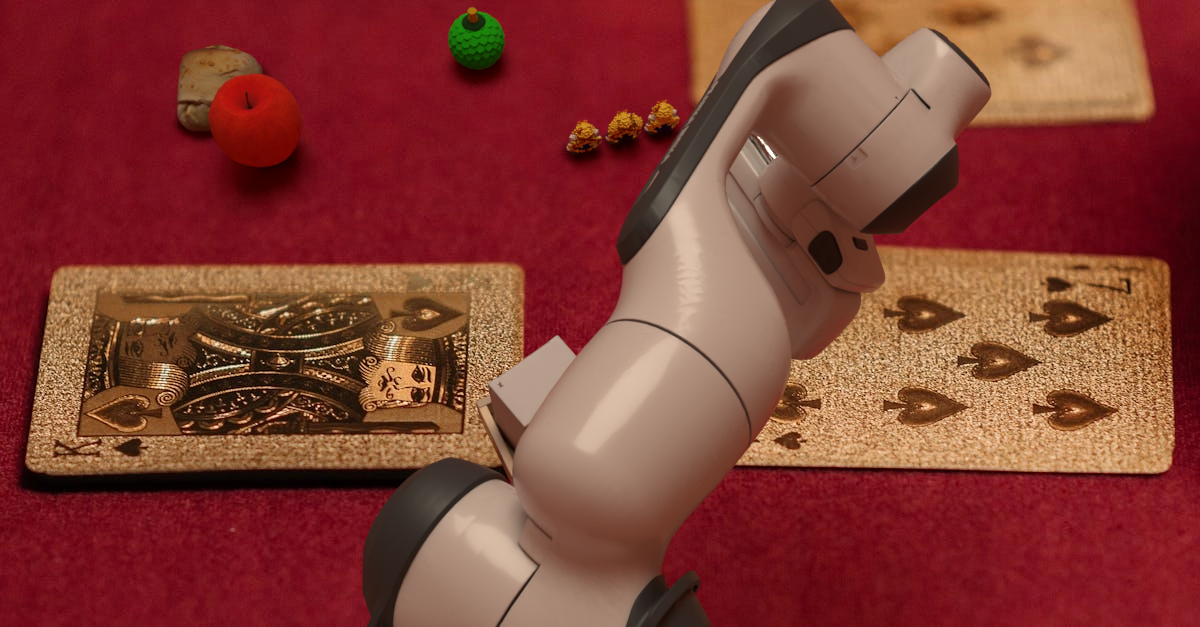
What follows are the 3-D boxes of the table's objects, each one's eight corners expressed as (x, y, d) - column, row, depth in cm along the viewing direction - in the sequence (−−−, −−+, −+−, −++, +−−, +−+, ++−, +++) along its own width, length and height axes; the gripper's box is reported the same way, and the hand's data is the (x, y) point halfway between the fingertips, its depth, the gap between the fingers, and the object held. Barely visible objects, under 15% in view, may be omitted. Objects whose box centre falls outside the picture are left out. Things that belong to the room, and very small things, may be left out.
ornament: (512, 75, 158) (506, 25, 150) (458, 86, 157) (449, 37, 149) (500, 35, 162) (494, -16, 153) (447, 46, 161) (437, -4, 152)
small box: (530, 474, 102) (522, 429, 93) (496, 430, 104) (484, 383, 95) (598, 424, 104) (596, 376, 95) (562, 383, 106) (557, 332, 97)
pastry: (244, 50, 161) (227, 11, 154) (287, 101, 156) (272, 62, 149) (158, 97, 157) (137, 58, 150) (200, 150, 152) (180, 113, 145)
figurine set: (683, 138, 152) (685, 108, 147) (571, 168, 150) (569, 138, 144) (674, 120, 154) (677, 89, 148) (564, 149, 152) (562, 119, 146)
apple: (257, 205, 147) (227, 143, 136) (212, 153, 152) (178, 89, 140) (330, 158, 151) (306, 94, 140) (283, 109, 156) (256, 43, 144)
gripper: (725, 102, 90) (620, 212, 97) (861, 291, 82) (735, 399, 88) (765, 117, 95) (662, 221, 102) (897, 297, 86) (775, 399, 93)
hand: (697, 305), depth 95 cm, fingers open, 8 cm apart
